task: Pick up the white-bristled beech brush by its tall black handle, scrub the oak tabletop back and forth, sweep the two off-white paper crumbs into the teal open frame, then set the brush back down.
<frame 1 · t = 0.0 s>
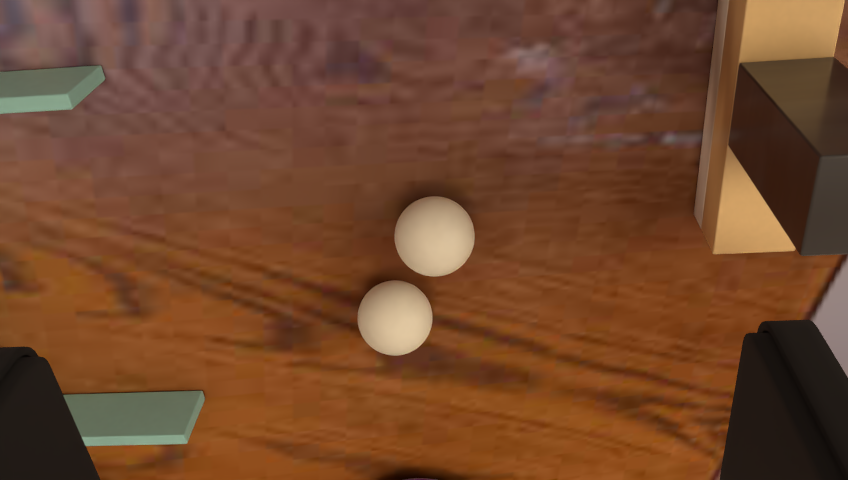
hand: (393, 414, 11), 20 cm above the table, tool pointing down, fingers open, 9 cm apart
teal open frame: (56, 258, 35), on the table
crumb b: (395, 317, 33), point 2 cm above the table
brush: (751, 71, 29), on the table
crumb a: (434, 236, 31), point 2 cm above the table
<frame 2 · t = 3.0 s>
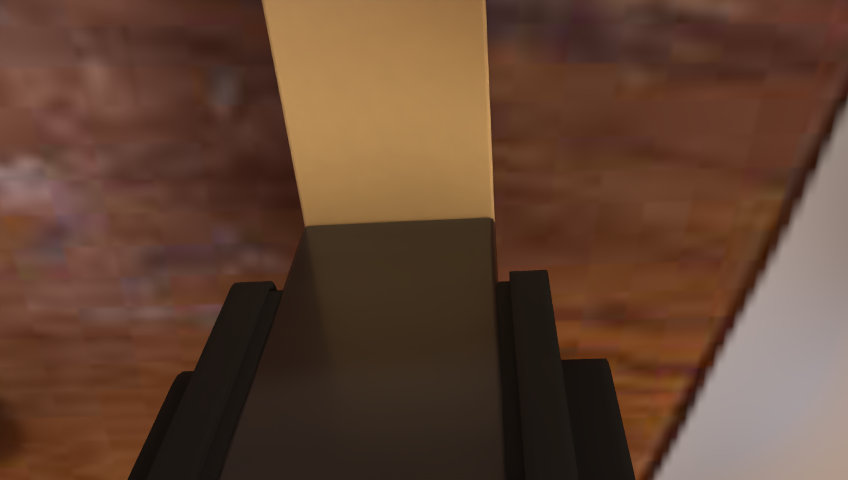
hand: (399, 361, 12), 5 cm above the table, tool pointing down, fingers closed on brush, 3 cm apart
brush: (417, 207, 15), on the table, touching gripper
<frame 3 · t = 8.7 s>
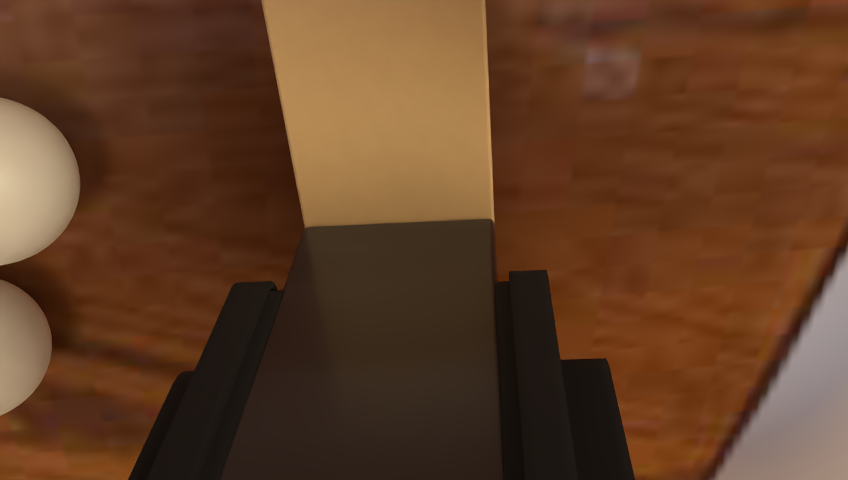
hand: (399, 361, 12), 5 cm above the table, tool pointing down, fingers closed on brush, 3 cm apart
brush: (417, 208, 15), point 1 cm above the table, touching gripper
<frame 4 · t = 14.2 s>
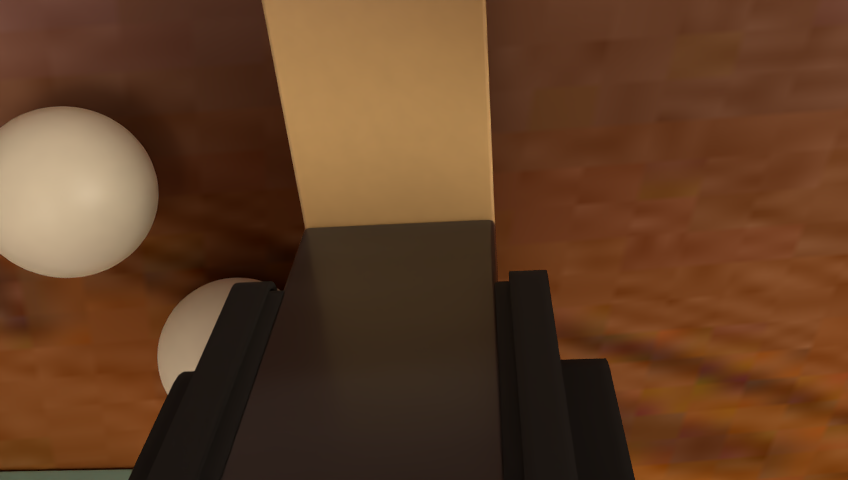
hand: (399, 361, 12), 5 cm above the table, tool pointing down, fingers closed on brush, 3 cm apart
crumb b: (237, 353, 17), point 2 cm above the table, tilted 128°
brush: (417, 209, 15), point 1 cm above the table, touching gripper
crumb a: (68, 192, 15), point 2 cm above the table, tilted 30°
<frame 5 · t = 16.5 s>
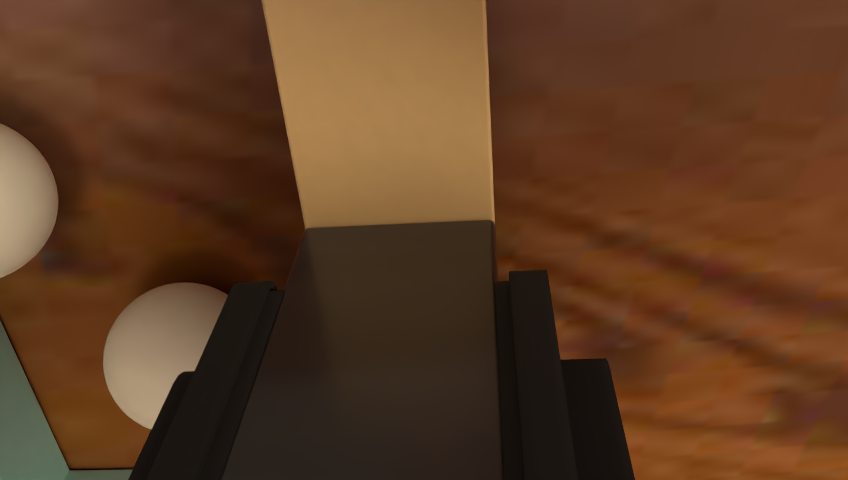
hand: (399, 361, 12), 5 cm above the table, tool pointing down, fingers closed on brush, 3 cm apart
teal open frame: (153, 204, 17), on the table
crumb b: (183, 357, 17), point 2 cm above the table, tilted 162°
brush: (417, 209, 15), point 1 cm above the table, touching gripper
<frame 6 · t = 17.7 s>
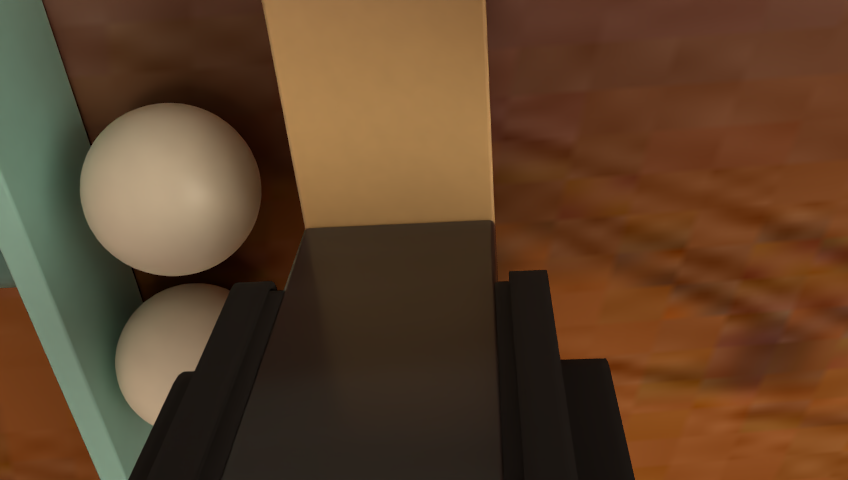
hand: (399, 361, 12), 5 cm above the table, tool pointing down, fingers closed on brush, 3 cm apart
teal open frame: (319, 196, 16), on the table
crumb b: (195, 358, 17), point 2 cm above the table, tilted 78°
brush: (417, 209, 15), point 1 cm above the table, touching gripper
crumb a: (173, 190, 14), point 2 cm above the table, tilted 26°
when the fingers open (5 cm above the table, at t = 25.2 s): brush stays where it is, on the table.
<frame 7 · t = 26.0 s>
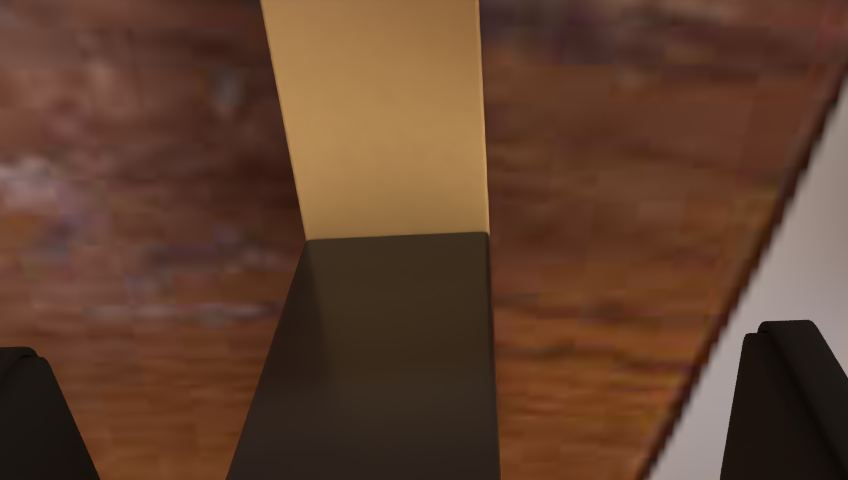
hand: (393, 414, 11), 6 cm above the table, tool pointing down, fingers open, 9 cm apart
brush: (415, 219, 16), on the table
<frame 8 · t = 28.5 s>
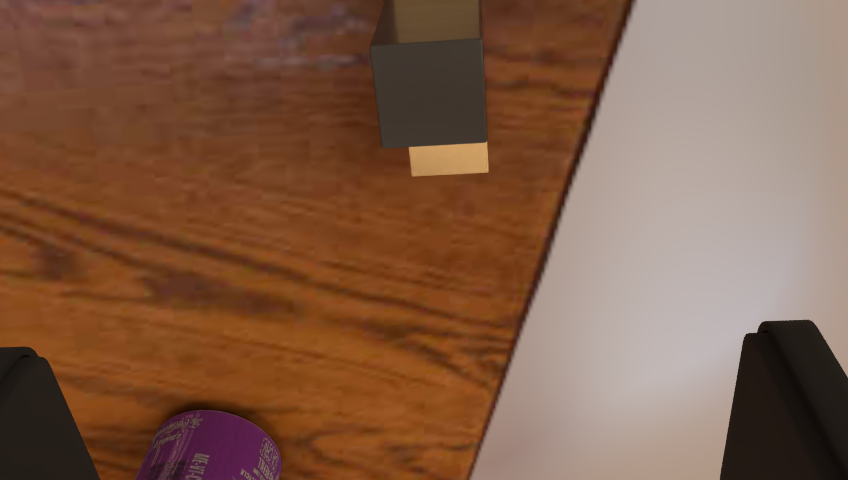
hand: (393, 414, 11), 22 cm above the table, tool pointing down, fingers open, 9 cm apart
beverage can: (222, 444, 43), on the table
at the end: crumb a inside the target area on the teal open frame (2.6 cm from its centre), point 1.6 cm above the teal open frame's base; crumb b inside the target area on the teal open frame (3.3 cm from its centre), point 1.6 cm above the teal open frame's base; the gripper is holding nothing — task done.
